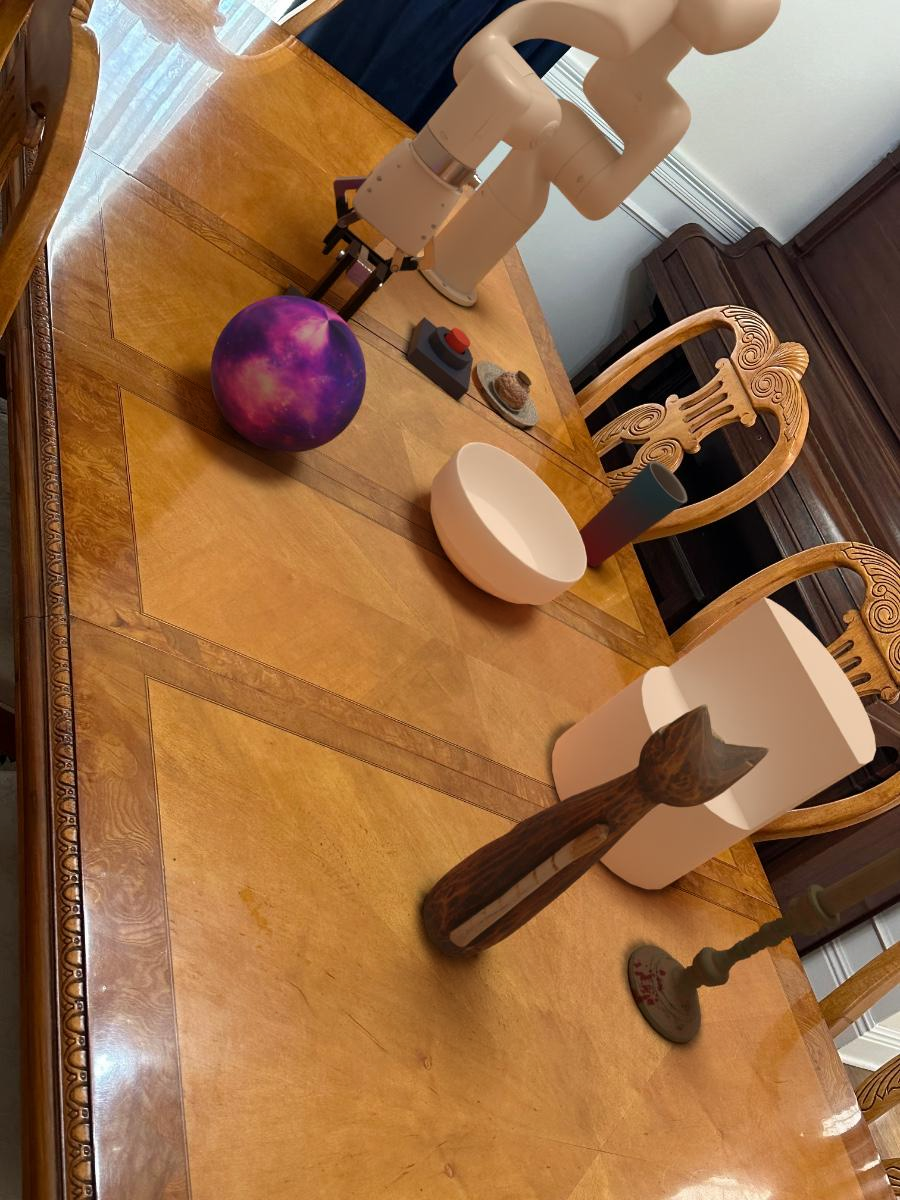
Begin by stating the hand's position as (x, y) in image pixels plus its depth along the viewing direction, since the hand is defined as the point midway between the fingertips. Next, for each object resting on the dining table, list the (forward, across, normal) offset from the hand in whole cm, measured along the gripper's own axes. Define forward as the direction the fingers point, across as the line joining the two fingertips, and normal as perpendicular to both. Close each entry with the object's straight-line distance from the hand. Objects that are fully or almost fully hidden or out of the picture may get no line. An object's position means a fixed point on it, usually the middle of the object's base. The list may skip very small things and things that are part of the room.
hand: (348, 268), depth 144 cm
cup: (+6, -46, +9) cm, 47 cm away
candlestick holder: (+6, -55, +72) cm, 91 cm away
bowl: (+6, -28, +28) cm, 40 cm away
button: (+2, -18, -8) cm, 20 cm away
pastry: (+5, -30, -14) cm, 33 cm away
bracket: (+6, 0, +9) cm, 11 cm away
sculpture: (+6, -30, +78) cm, 84 cm away
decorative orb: (+6, +2, +35) cm, 36 cm away
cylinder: (+6, -50, +52) cm, 73 cm away
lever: (-3, 0, +5) cm, 6 cm away
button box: (+5, -18, -8) cm, 20 cm away
